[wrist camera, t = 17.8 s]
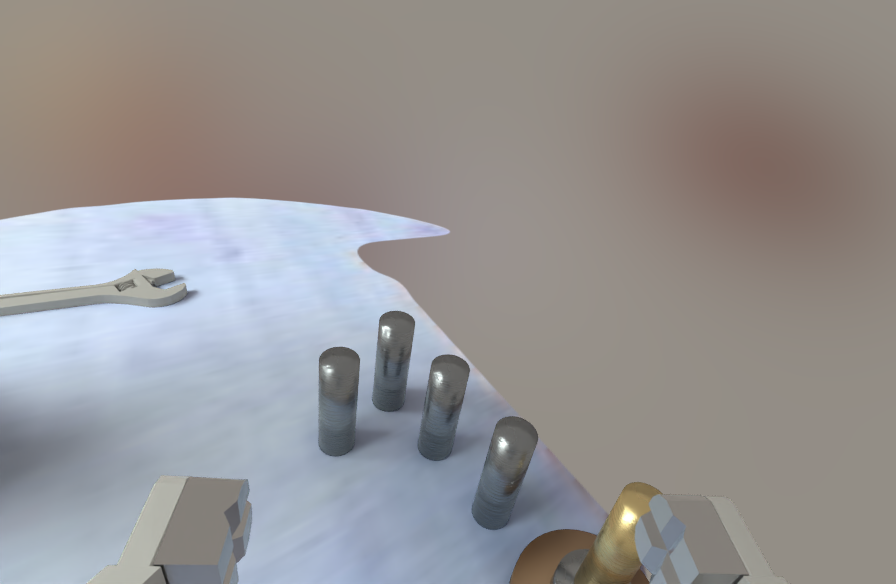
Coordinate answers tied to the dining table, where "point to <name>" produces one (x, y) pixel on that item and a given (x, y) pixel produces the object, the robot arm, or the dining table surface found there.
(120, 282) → the adjustable wrench
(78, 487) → the dining table surface
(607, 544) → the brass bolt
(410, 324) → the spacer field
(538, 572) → the walnut plate
